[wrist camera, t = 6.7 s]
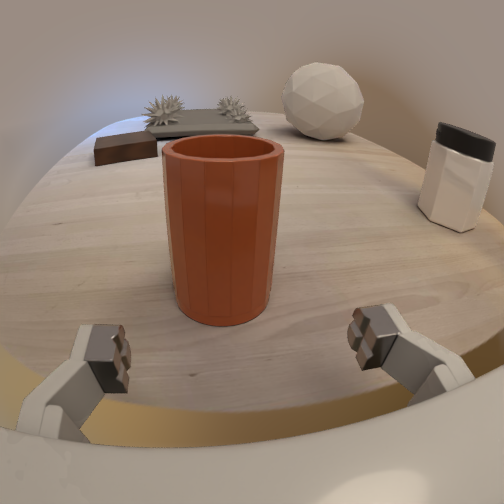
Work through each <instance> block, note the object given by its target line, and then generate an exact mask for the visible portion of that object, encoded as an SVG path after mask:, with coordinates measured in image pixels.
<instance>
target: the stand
mask: <svg viewBox="0 0 504 504" xmlns="http://www.w3.org/2000/svg"><path fill="white" fill-rule="evenodd" d="M157 156H158V154H157V140H156V138H155V137H154V136H153V134H152V133H151V132H150V131H140V132H133V133H126V134H119V135H112V136H106V137H100V138H96V142H95V146H94V157H95V166H100V165H105V164H111V163H117V162H123V161H130V160H136V159H143V158H151V157H157Z"/></svg>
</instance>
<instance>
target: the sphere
mask: <svg viewBox="0 0 504 504" xmlns="http://www.w3.org/2000/svg"><path fill="white" fill-rule="evenodd" d="M282 101H283V106H284V110H285V115H286V119H287V121H288V122H290V123H291V124H292V125H293V126H294V127H296V128H297V129H298V130H299V131H300V132H302V133H303V134H304V135H306V136H310V137H313V138H317V139H320V140H323V141H324V140H329V139H334V138H339V137H344V136H345V135H346V134H347V133H348V132H349V131H350V130H351V129H352V128H353V127H354V126H355V125H356V124H358V123H359V121H360V117H361V112H362V107H363V103H364V99H363V97H362V94H361V91H360V89H359V86H358V84H357V83H356V81H355V80H354V79H353V78H352V77H351V76H350V75H349V74H348V73H347V72H346V71H345V70H344V69H343V68H342V67H341V66H336V65H330V64H324V63H317V62H315V63H311V64H308V65H305V66H302V67H300V68H299V69H298V70H296V71H295V72H294V73H293V74H292V75H291V77H290V78H289V79H288V81H287V82H286V85H285V88H284V91H283V94H282Z"/></svg>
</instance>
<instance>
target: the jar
mask: <svg viewBox="0 0 504 504" xmlns="http://www.w3.org/2000/svg"><path fill="white" fill-rule="evenodd" d="M495 146H496V143H495V142H494V141H492V140H490V139H488V138H486V137H483V136H481V135H478V134H476V133H473V132H471V131H468V130H465V129H462V128H459V127H456V126H453V125H450V124H446V123H442V122H439V124H438V129H437V131H436V141H435V140H433V141H432V144H431V149H430V154H429V159H428V163H427V168H426V172H425V177H424V181H423V185H422V189H421V193H420V197H419V201H418V207H419V208H420V209H421V210H422V212H423V213H424V214H425V215H426V216H427V218H428V219H429V220H430V221H432V222H434V223H437V224H440V225H442V226H445V227H447V228H450V229H452V230H455V231H457V232H460V233H461V232H464V231H468V230H471V229H474V228H475V227H476V224H477V221H478V218H479V215H480V212H481V209H482V206H483V203H484V199H485V196H486V193H487V189H488V186H489V182H490V179H491V175H492V171H493V167H494V163H493V162H492V159H493V155H494V150H495Z"/></svg>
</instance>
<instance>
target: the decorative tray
mask: <svg viewBox="0 0 504 504" xmlns="http://www.w3.org/2000/svg"><path fill="white" fill-rule="evenodd" d="M176 99H177V97H175V98H174V100H173V98H172V96H171V99H170V97H169V98H168V101H167V100H165V99H164V97H163V96H162V101H161V105H160V103H159V102H158V100H157V99H156V102H155V103H156V106H155V105H154V104H152V103H151V102H149V103H150V104H151V105H152V107H153V108H154V109H152V108H146V109H147V110H149V111H151V112H152V113H149V114H142V115H144V116H149V117H151V118H149V119H147V120H146V121H144V122H145V123H146V122H147V123H148V122H150V123H149V124H148V125H147V126H148V127H147V126H146V127H147V128H146V129H145V130H144V131H150V132H151V133H152V134H153V136H154V137H155V138H160V137H176V136H197V135H210V134H235V135H254V134H255V133H256V132H257V131H258V130H259V128H258V127H256V126H255V125H254V124H253V123H252V122H250V121H252V120H249V117H251V116H249V115H250V113H249V114H246V115H245V113H246V111H247V110H246V111H244V109H243V110H240V109H241V108H242V107H244V106H241V105H242V104H243V103H242V104H238V102H239V100H240V99H239V100H238V101H237V102H236V99H235V100H234V101H232V97H230V100H229V99H228V98H227V99H226V98H225V100H220V101H221V102H222V103H221V102H220V103H219V104H218V105H219V106H220V107H219V108H217V109H196V110H180V109H182V108H184V107H180V105H182V103H180V102H181V101H179V102H177V101H178V99H179V98H178V99H177V100H176ZM164 100H165V102H166V103H165V102H164ZM237 104H238V105H237ZM240 106H241V107H240ZM243 112H244V113H243ZM144 128H145V127H144Z"/></svg>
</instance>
